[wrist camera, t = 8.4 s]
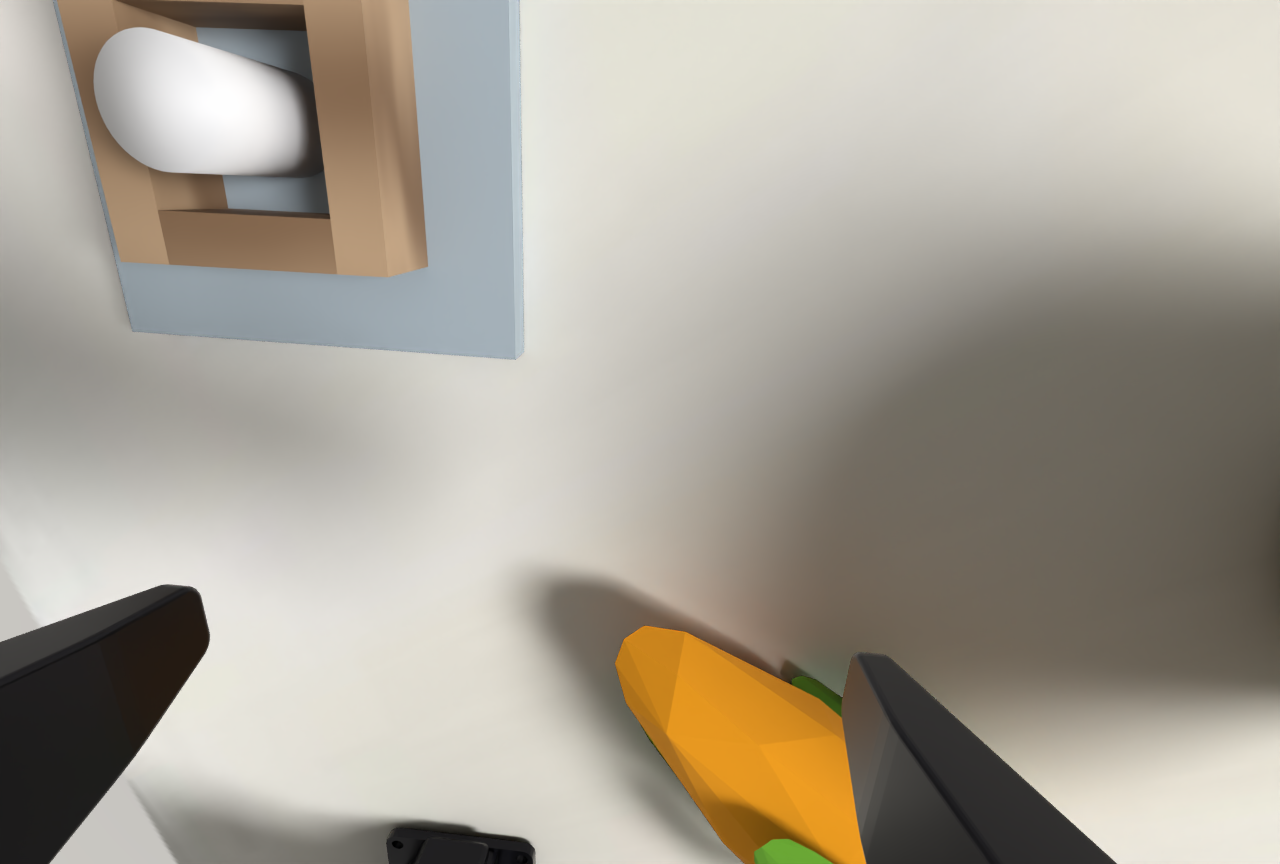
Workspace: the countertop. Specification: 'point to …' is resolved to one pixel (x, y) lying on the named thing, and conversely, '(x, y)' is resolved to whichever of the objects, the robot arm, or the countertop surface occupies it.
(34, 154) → the countertop surface
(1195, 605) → the countertop surface
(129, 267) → the base plate with peg
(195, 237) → the square wooden frame
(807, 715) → the corn
